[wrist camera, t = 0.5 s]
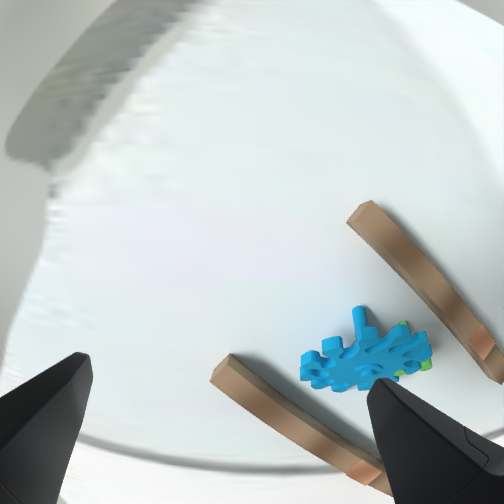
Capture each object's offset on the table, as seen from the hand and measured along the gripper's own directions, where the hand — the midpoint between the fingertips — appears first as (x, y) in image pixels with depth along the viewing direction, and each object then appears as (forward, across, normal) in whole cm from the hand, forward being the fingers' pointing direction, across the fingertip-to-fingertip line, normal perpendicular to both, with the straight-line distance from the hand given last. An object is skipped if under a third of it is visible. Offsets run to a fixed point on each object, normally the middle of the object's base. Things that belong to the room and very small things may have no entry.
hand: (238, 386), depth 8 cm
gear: (+13, -12, +7) cm, 19 cm away
